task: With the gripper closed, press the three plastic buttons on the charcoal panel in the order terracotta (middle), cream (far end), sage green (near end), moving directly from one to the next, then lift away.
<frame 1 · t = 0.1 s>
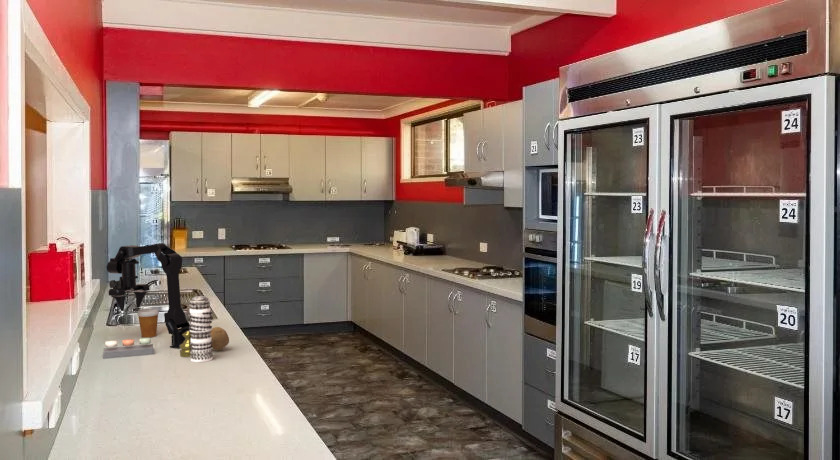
hand: (130, 309, 338), 15 cm above the table, fingers open, 9 cm apart
disposable coffee cup: (149, 336, 351), on the table
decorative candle: (201, 360, 302), on the table
cream button: (111, 343, 311), point 5 cm above the table, slide at 0.0 cm
sage button: (145, 341, 316), point 5 cm above the table, slide at 0.0 cm
button panel: (128, 354, 314), on the table
gold metal figurine: (189, 355, 310), on the table
brown rounded lump: (217, 351, 318), on the table
terracotta button: (128, 342, 314), point 5 cm above the table, slide at 0.0 cm
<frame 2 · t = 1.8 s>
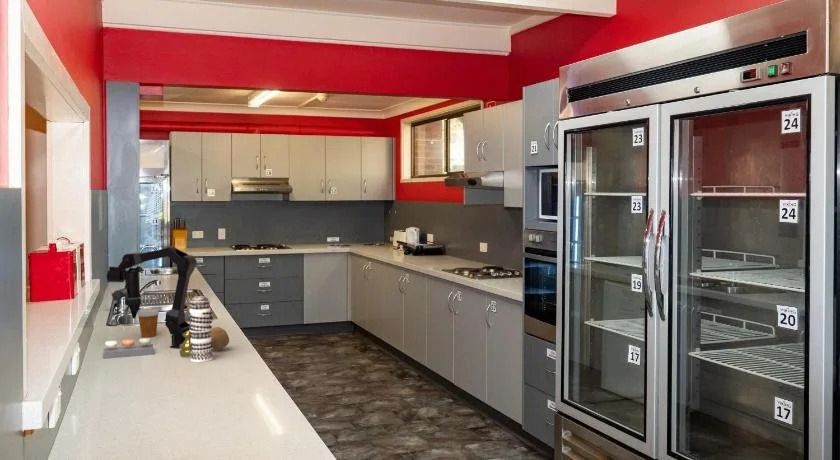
hand: (133, 318, 329), 12 cm above the table, fingers closed
nothing on the table moved.
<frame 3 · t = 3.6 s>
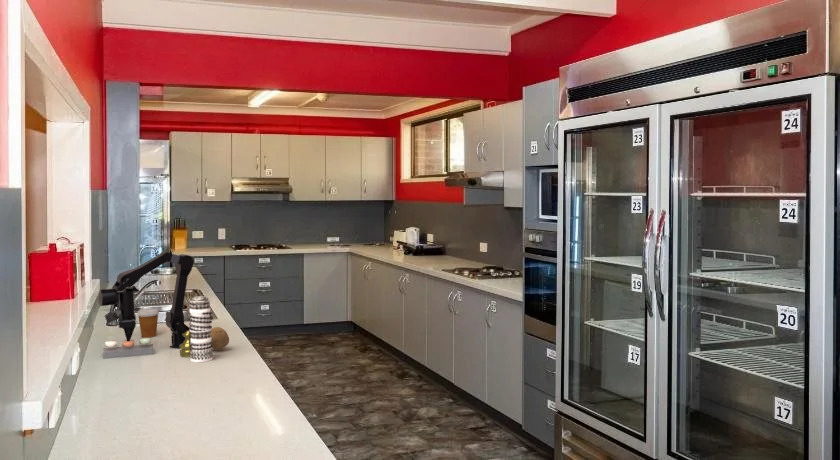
hand: (128, 341, 314), 5 cm above the table, fingers closed, pressing on terracotta button
terracotta button: (128, 343, 314), point 4 cm above the table, slide at 0.5 cm, touching gripper
everything else where it was.
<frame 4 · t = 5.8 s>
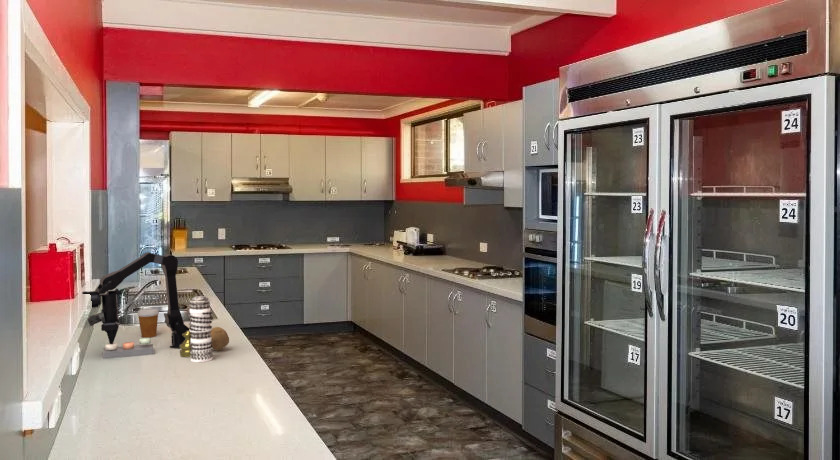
hand: (111, 344, 311), 5 cm above the table, fingers closed, pressing on cream button
cream button: (111, 346, 311), point 4 cm above the table, slide at 1.1 cm, touching gripper
terracotta button: (128, 345, 314), point 4 cm above the table, slide at 1.3 cm
everything else where it was.
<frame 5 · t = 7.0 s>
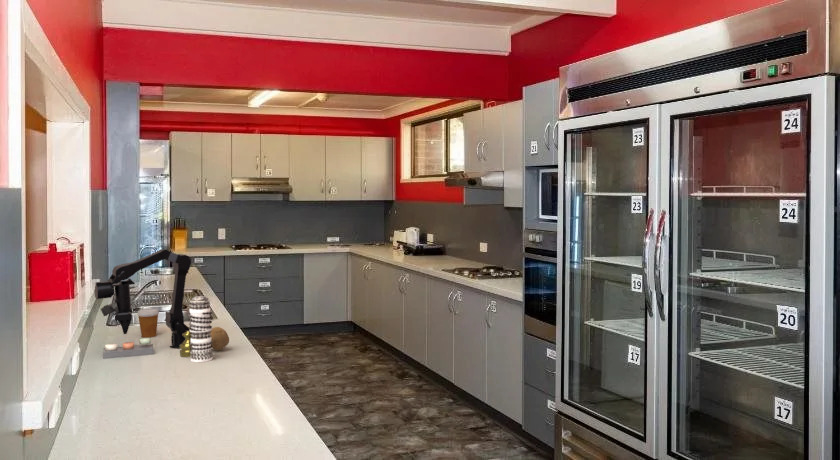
hand: (125, 333, 313), 9 cm above the table, fingers closed
cream button: (111, 346, 311), point 4 cm above the table, slide at 1.3 cm
everything else where it was.
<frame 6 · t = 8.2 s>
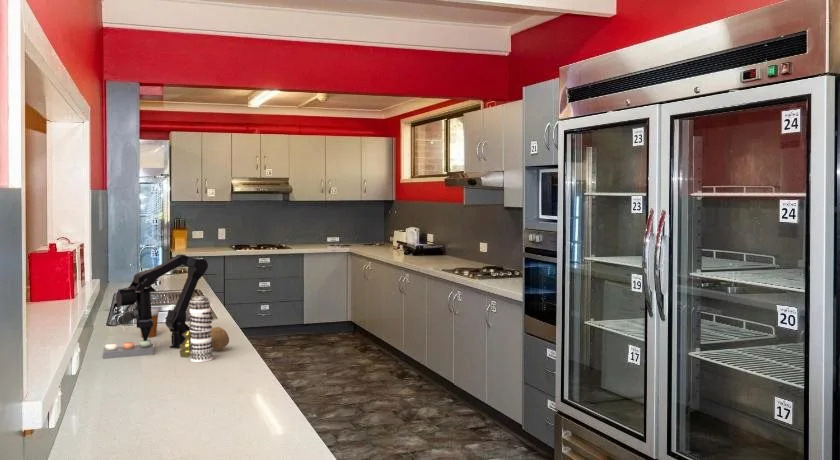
hand: (145, 340, 316), 5 cm above the table, fingers closed, pressing on sage button
sage button: (145, 343, 316), point 4 cm above the table, slide at 0.9 cm, touching gripper
everything else where it was.
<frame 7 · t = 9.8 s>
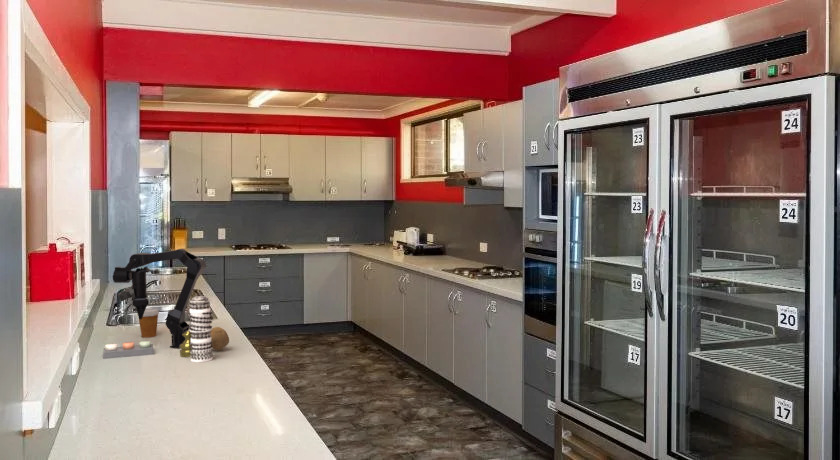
hand: (140, 319, 327), 12 cm above the table, fingers closed
sage button: (145, 344, 316), point 4 cm above the table, slide at 1.3 cm
everything else where it was.
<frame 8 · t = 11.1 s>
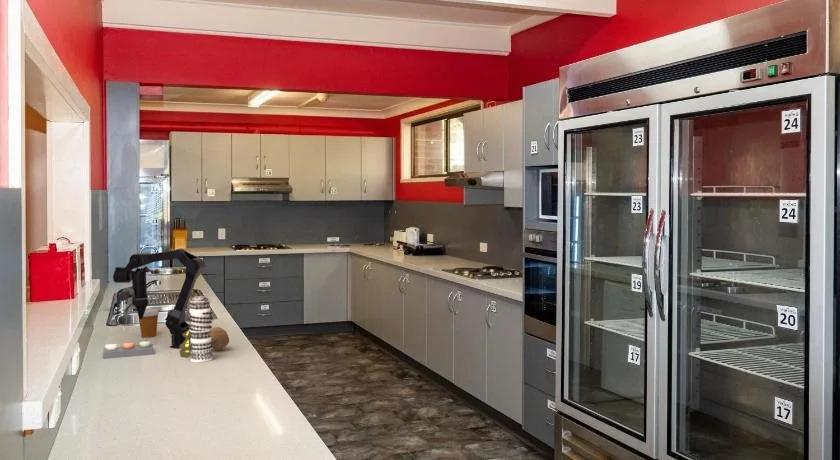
hand: (140, 319, 327), 12 cm above the table, fingers closed
nothing on the table moved.
at the end: terracotta button slide at 1.3 cm; cream button slide at 1.3 cm; sage button slide at 1.3 cm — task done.
